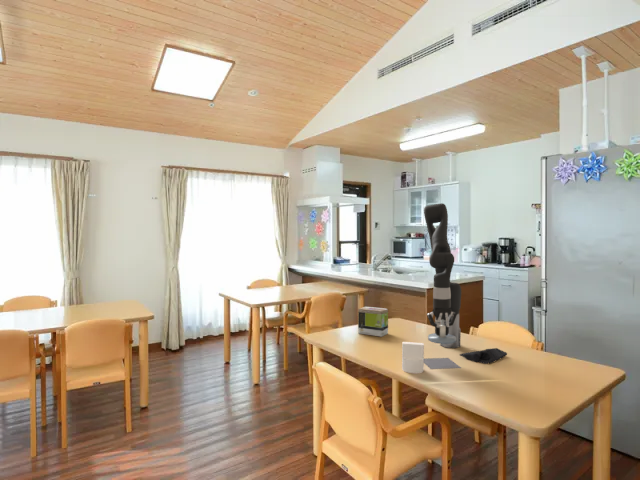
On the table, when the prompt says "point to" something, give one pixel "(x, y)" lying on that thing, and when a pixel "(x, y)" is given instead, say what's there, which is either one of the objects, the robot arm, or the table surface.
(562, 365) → the table surface
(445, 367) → the mat
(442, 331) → the lid
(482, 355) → the dark slate chunk
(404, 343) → the white cylinder
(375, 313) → the tea box
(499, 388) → the table surface
